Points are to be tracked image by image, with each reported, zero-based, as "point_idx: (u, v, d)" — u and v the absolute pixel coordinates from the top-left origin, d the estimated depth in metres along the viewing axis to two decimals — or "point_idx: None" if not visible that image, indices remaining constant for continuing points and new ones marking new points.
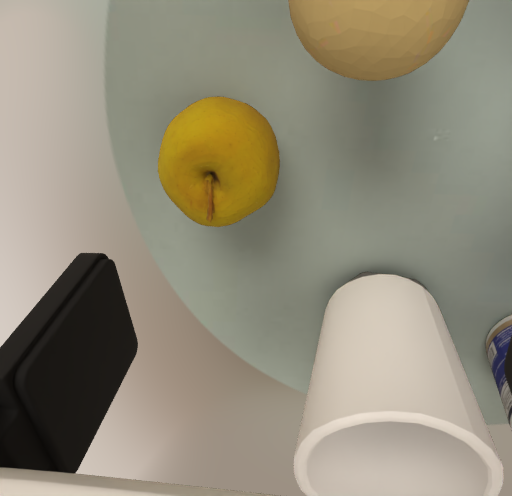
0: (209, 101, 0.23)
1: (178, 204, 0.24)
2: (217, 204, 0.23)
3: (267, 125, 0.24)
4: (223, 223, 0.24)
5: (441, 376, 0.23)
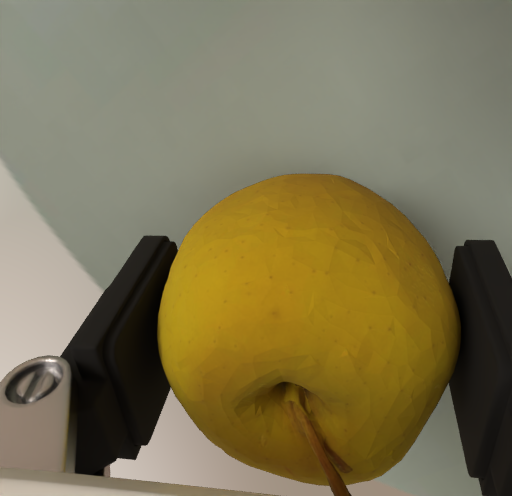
0: (194, 231, 0.10)
1: None
2: (345, 452, 0.08)
3: (345, 192, 0.09)
4: (390, 467, 0.09)
5: None
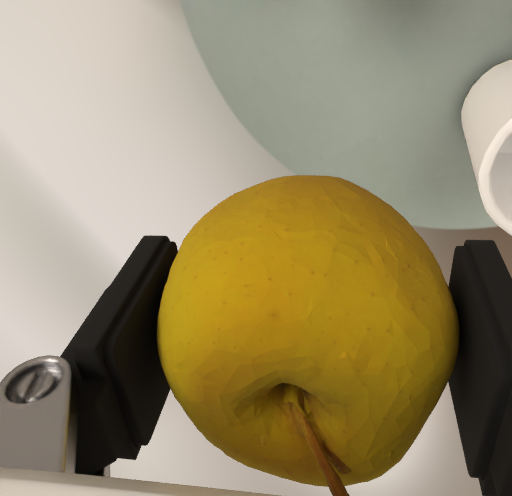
0: (194, 233, 0.10)
1: None
2: (344, 453, 0.09)
3: (343, 194, 0.09)
4: (389, 468, 0.09)
5: None
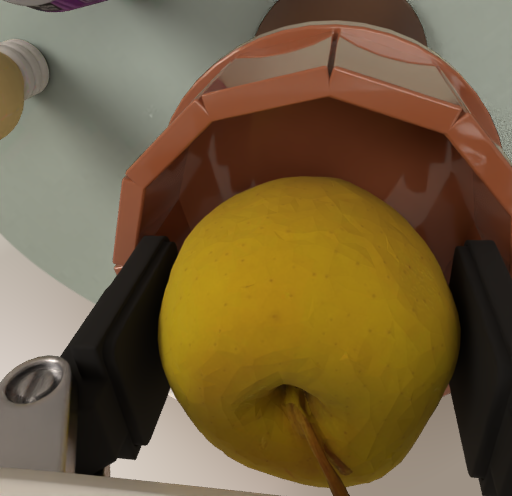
0: (195, 234, 0.10)
1: None
2: (345, 453, 0.09)
3: (345, 195, 0.09)
4: (390, 469, 0.09)
5: None
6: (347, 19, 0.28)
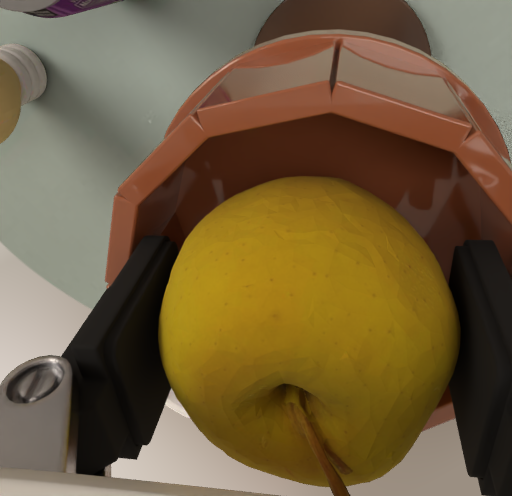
0: (195, 233, 0.10)
1: None
2: (345, 453, 0.09)
3: (345, 194, 0.09)
4: (390, 469, 0.09)
5: None
6: (349, 24, 0.28)
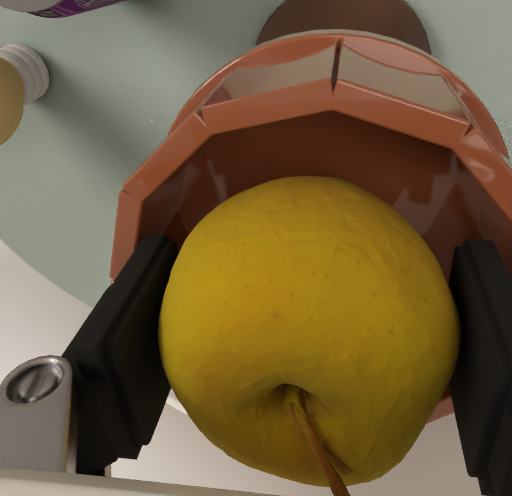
0: (195, 233, 0.10)
1: None
2: (345, 453, 0.09)
3: (345, 194, 0.09)
4: (390, 469, 0.09)
5: None
6: (350, 24, 0.28)
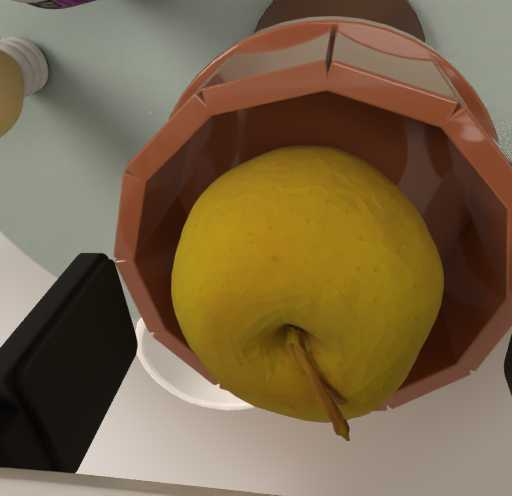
0: (202, 197, 0.11)
1: None
2: (340, 385, 0.10)
3: (335, 157, 0.10)
4: (382, 402, 0.10)
5: None
6: (345, 16, 0.28)
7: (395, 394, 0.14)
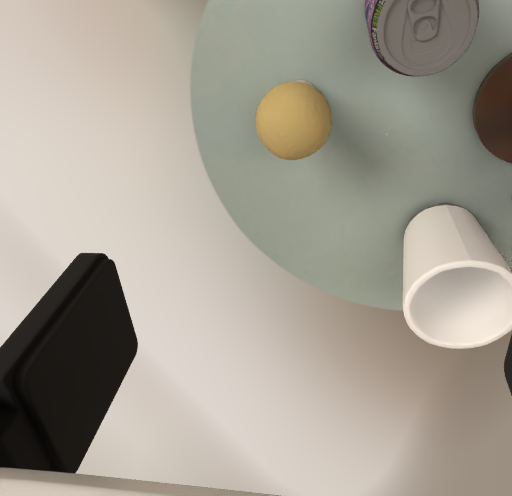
0: None
1: None
2: None
3: None
4: None
5: (452, 244, 0.42)
6: None
7: None
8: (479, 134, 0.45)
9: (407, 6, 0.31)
